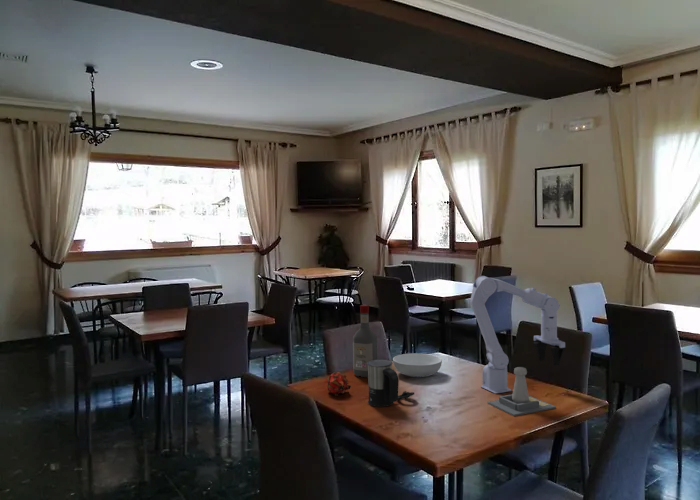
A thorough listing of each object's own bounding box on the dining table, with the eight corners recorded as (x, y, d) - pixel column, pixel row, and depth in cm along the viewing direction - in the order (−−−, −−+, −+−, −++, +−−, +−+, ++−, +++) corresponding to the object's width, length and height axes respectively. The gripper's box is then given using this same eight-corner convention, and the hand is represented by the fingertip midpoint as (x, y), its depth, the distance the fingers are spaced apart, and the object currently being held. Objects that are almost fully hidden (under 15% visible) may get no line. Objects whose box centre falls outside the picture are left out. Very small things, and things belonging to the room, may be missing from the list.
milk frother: (362, 403, 189) (361, 363, 189) (387, 392, 202) (386, 354, 201) (395, 412, 180) (394, 369, 180) (419, 399, 193) (418, 359, 192)
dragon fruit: (335, 391, 209) (343, 405, 197) (318, 381, 206) (325, 395, 195) (348, 374, 209) (356, 387, 198) (331, 364, 206) (339, 376, 195)
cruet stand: (487, 403, 187) (487, 396, 187) (527, 396, 194) (527, 389, 194) (513, 416, 174) (513, 408, 174) (555, 408, 181) (555, 400, 181)
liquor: (371, 378, 221) (369, 307, 220) (351, 375, 225) (350, 306, 224) (379, 372, 229) (378, 304, 228) (360, 370, 233) (359, 303, 232)
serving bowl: (446, 381, 215) (445, 364, 215) (395, 382, 215) (394, 365, 215) (437, 367, 236) (437, 352, 235) (391, 368, 236) (391, 353, 236)
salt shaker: (529, 407, 180) (529, 370, 180) (512, 406, 182) (511, 369, 181) (528, 402, 186) (528, 366, 185) (511, 401, 187) (511, 365, 187)
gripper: (571, 329, 196) (571, 365, 196) (543, 323, 209) (543, 357, 210) (556, 331, 193) (556, 368, 193) (529, 325, 206) (529, 359, 207)
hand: (548, 362), depth 201 cm, fingers open, 7 cm apart
